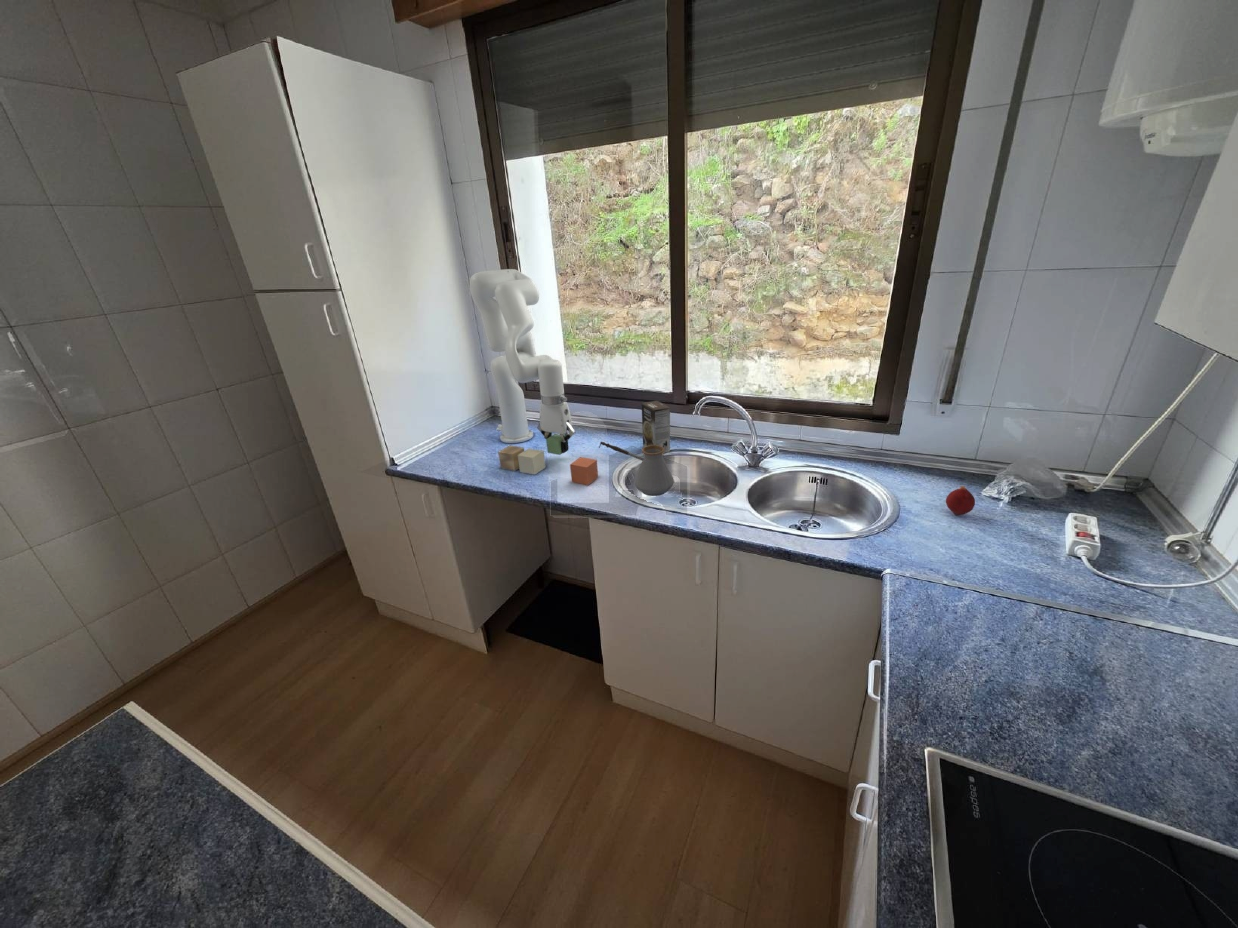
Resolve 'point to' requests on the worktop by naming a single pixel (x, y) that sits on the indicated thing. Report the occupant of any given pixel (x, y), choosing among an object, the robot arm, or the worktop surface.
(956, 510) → the onion
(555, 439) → the green block
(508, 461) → the block
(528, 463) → the block
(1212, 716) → the worktop surface
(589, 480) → the block
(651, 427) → the coffee box
